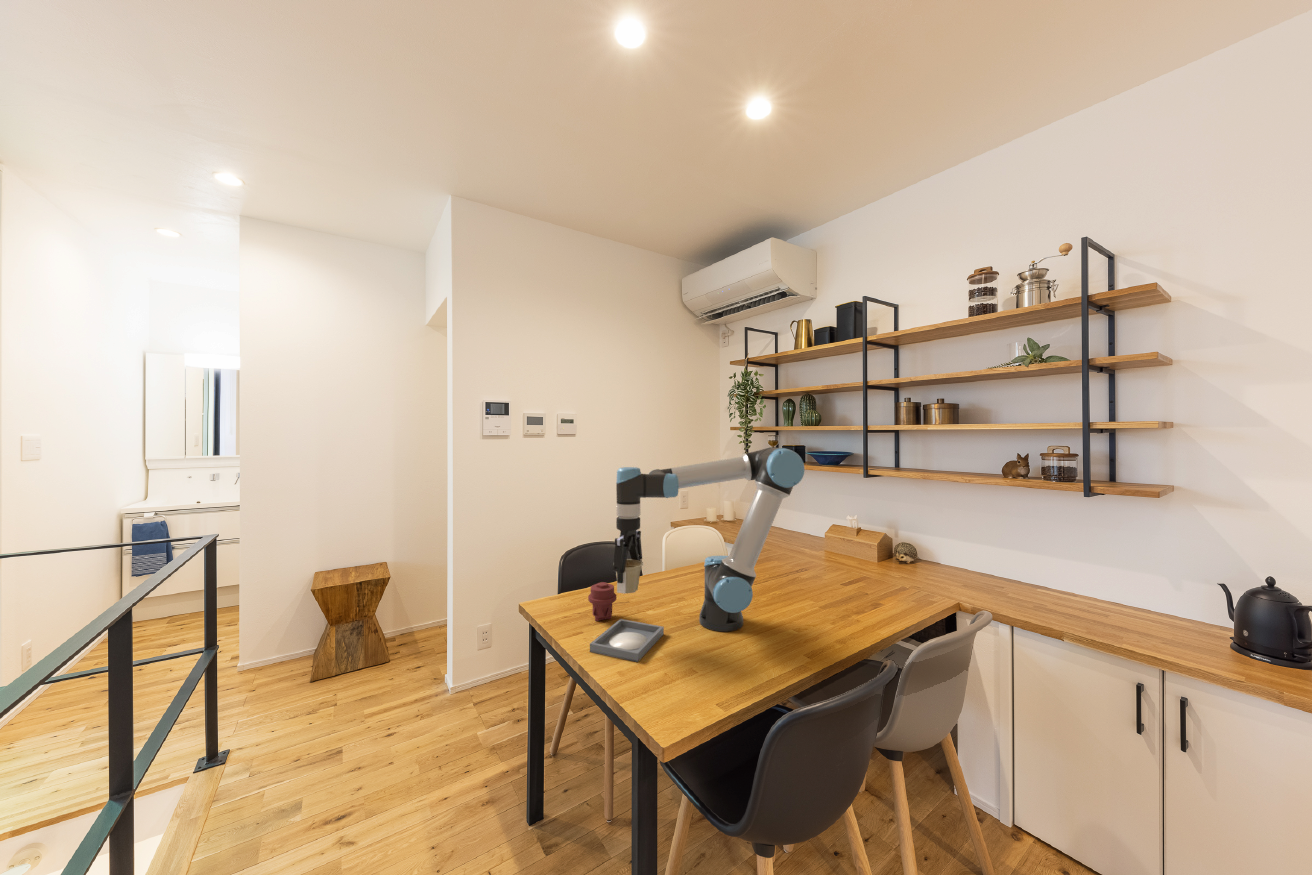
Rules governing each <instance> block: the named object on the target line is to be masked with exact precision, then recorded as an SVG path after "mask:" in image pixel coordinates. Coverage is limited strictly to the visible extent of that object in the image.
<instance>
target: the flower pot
mask: <svg viewBox="0 0 1312 875" xmlns="http://www.w3.org/2000/svg"><path fill="white" fill-rule="evenodd" d="M612 563H613V564H614V562H612ZM613 564H612V565H613ZM642 566H644V562H643V561H642V562H641V561H639V560H632V559H631V558H627V561H626V566H625V571H624V572H626V593H625V594H632V593H633V594H635V593H636V592H637V591H638V590H639V589H638V588H639V585H640V576H641V570H642V568H643V567H642ZM615 576H616V578H617V572H615Z"/></svg>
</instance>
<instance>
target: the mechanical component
mask: <svg viewBox="0 0 1312 875" xmlns="http://www.w3.org/2000/svg"><path fill="white" fill-rule="evenodd" d="M616 601H617V594H616V593H615V586H614V585H613V584H611V583H609V582H604V581H601V582H597V583H595V584H593V585H591V586H590V594H589V595H588V602H589V603H590V604H592V616H593V617H594V621H595V622H599V621H603V620H604V621H605V620H611V619H612V617H613V616H612V614H613V603H614V602H616Z"/></svg>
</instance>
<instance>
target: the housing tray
mask: <svg viewBox="0 0 1312 875" xmlns="http://www.w3.org/2000/svg"><path fill="white" fill-rule="evenodd" d="M664 629H665V627H664V626H661V625H657V624H649V623H645V622H639V621H635V620H634V621H633V620H628V619H623V618H619V620H617V621H616V622H615V623H614V624H612V625H611V626H610V627H609V628H607V629H606V630H605V631H604V632H602V633H601V634H600V635H598V636H597V637H596V638H595V639H594V640H593V641H591V642H590V643H589V653H593V654H598V655H603V656H607V657H612V658H617V659H621V660H625V661H630V662H635V663H638V662H640V660H641V659H643V657H644V656H645V655H646V654H647V653H648V652H649V651H650V649H652V648H653V646H654V645H656V643H657V642H658V641H659V640H660V639H661V638H662V637H663V636H664V634H665V633H664Z"/></svg>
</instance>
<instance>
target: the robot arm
mask: <svg viewBox="0 0 1312 875" xmlns="http://www.w3.org/2000/svg"><path fill="white" fill-rule="evenodd" d="M804 463H805V462H804V460H803V459H802V457H801V456H800V455H799V453H797V451H796V452H795V451H794V450H791V449H788V448H785V447H776V446H775V447H767V448H762V449H759V450H755V451H751V452H745V453H743V454H742V455H741V456H738V457H733V458H727V459H720V460H714V461H707V462H706V461H705V462H701V463H693V464H688V465H681V466H677V467H670V468H669V467H668V468H663V469H659V468H657V469H652V470H651V471H650V472H649V473H642V472H641V468H639V467H634V466H633V467H631V466H627V467H626V466H625V467H624V466H623V467H619V468H618V469H617V471H616V483H615V484H616V488H615V489H616V491H615V492H616V505H615V508H616V516H617V517H616V519H615V520H616V529H617V530H618V531H620V532H619V537H617V538H616V537H615V538H614V554H613V563H614V564H612V565H613V566H612V571H613V572H615V573H616V572H617V577H616V593H618V594H624V595H625V594H627V593H626V572H624V571H625V566H626V561H627V559H628V555H629V556H630V559H632V560H639V561H641V562H643V550H642V538H641V537H642V531H641V530H640V529H641V517H640V516H641V498H643V499H644V498H645V499H646V498H650V499H651V498H657V499H658V498H659V499H661V498H662V499H663V498H665V499H668V498H676V497H678V495H679V489H684V488H685V489H686V488H691V487H693V488H694V487H699V486H705V485H710V484H717V483H718V484H719V483H724V482H731V481H736V480H743V479H744V480H747V481H754V483H755V485H756V490H755V492H754V495H753V498H752V500H751V502H750V505H749V507H748V509H747V511H746V514H745V517H744V518H743V521H742V523H741V526H740V528H739V531H738V532H737V533H738V534H737V536H736V537H735V540H734V543H733V545H732V547H731V549H730V553H729V554H728V555H711V556H707V557H705V559H704V565H703V567H704V601H703V604H702V606H701V609H700V612H699V619H698V620H699V624H700V625H701V626H702V627H703V628H705V629H708V630H711V631H715V632H733V631H736V630H737V631H738V630H739V629H741V628H742V627H743V626H744V616H743V612H742V611H744V610H746V609H747V608H748V607H749V606H750V604H751V603H752V601H753V596H754V595H753V594H754V593H753V592H754V591H753V588H752V587H753V585H754V582H755V580H756V577H757V573H756V572H755V566H756V564H757V562H758V559H759V557H760V554H761V553H762V550H763V548H764V545H765V543H766V541H767V538H768V535H769V532H770V531H771V528H772V525H773V523H774V521H775V519H776V516H777V514H778V511H779V509H780V507H781V504H782V501H783V500H784V499H785V498H788V497H790V496H791V493H792V491H793V489H794V487H795V486H797V485H798V484H799V483H800V482H801V481H802V480H803V478H804V475H805V470H806V469H805V464H804Z"/></svg>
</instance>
